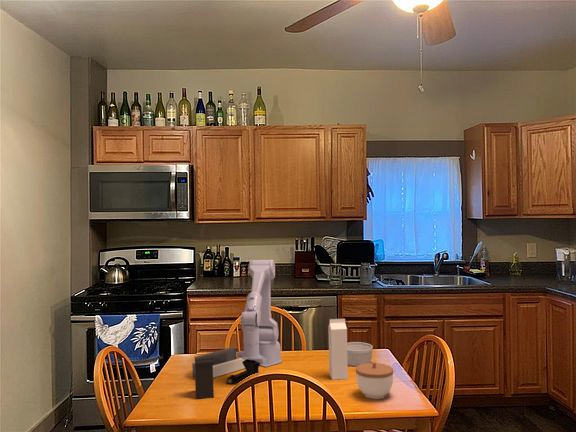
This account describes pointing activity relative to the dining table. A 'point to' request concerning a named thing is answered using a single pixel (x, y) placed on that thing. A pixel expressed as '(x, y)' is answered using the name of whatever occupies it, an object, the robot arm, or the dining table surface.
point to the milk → (338, 349)
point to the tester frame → (217, 357)
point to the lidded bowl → (374, 379)
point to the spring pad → (228, 367)
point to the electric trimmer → (237, 377)
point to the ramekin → (358, 353)
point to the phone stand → (204, 378)
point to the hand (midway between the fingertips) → (252, 379)
